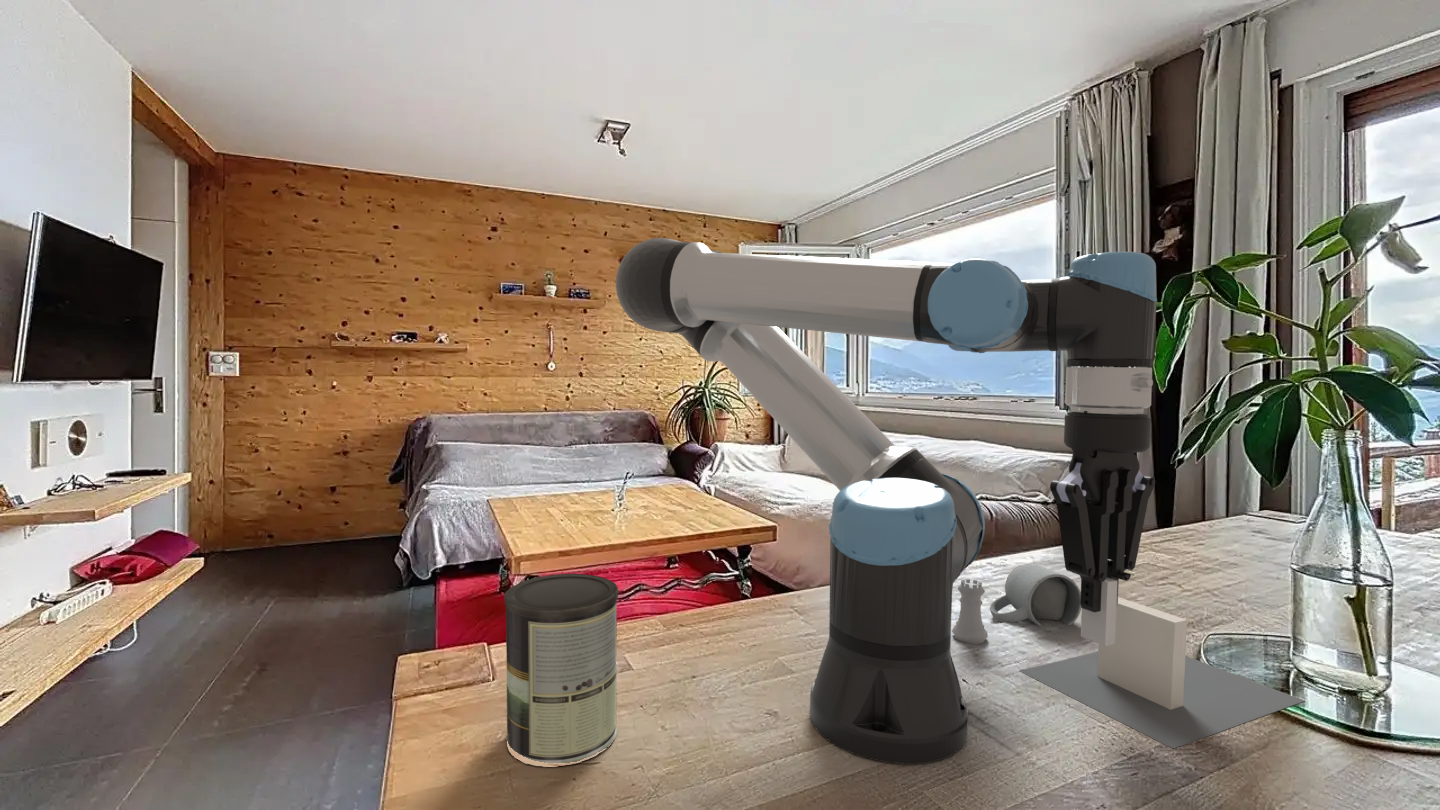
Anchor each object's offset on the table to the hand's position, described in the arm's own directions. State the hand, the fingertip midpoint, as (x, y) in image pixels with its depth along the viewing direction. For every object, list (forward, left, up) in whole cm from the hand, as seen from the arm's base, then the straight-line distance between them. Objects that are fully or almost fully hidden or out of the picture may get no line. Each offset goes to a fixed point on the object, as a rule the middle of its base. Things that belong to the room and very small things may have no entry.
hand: (1097, 639), depth 69 cm
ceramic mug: (+15, +21, -8) cm, 27 cm away
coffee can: (-51, +17, -8) cm, 54 cm away
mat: (+10, 0, -8) cm, 13 cm away
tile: (+7, 0, -7) cm, 10 cm away
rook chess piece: (+1, +18, -8) cm, 20 cm away
